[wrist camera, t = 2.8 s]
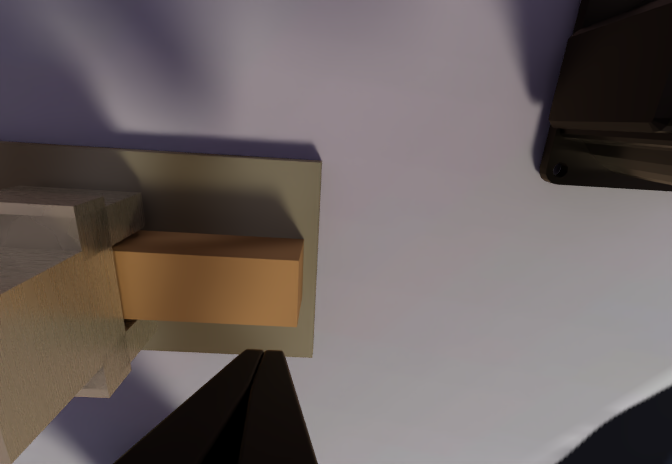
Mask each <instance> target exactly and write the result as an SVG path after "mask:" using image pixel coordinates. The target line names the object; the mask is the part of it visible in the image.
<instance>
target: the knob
mask: <svg viewBox="0 0 672 464" xmlns="http://www.w3.org/2000/svg"><path fill="white" fill-rule="evenodd" d="M143 227H145V218H144V210H143V202H142V194H141V192H124V191H107V190H90V189H73V188H55V187H38V186H21V185H20V186H15V187H11V188H6V189H1V190H0V464H12V463H13V462H14V461H15V460H16V459H17V458H18V457H19V455H20V454H21V453H22V452H23V451H24V450H25V449H26V448H27V447H28V446H29V445H30V444H31V443H32V442H33V440H34V439H35V438H36V437H37V436H38V435H39V434H40V433H41V432H42V431H43V430H44V429H45V428H46V426H47V425H48V424H49V423H50V422H51V421H52V420H53V419H54V418H55V417H56V416H57V415H58V414H59V412H60V411H61V410H62V409H63V408H64V407H65V406H66V405H67V404H68V403H69V402H70V401H71V400H72V399H73V397H96V398H110V397H111V395H112V394H113V393H114V392H115V390H116V389H117V388H118V387H119V385H120V384H121V383H122V382H123V380H124V379H125V378H126V377H127V375H128V374H129V373H130V372H131V364H130V363H131V362H132V360H133V359H134V358H135V357H136V356H137V354H138V353H139V352H140V351H141V349H142V348H143V347H144V346H145V345H146V343H147V342H148V341H149V340H150V339H151V337H152V336H153V335H154V334H155V333H156V331H157V330H158V325H157V320H137V319H123V313H122V307H121V301H120V294H119V288H118V281H117V275H116V269H115V262H114V256H113V250H112V245H114V244H116V243H117V242H119V241H121V240H123V239H124V238H126V237H128V236H130V235H131V234H133V233H135V232H137V231H138V230H140V229H142V228H143Z"/></svg>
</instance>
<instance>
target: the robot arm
mask: <svg viewBox="0 0 672 464" xmlns="http://www.w3.org/2000/svg"><path fill="white" fill-rule="evenodd" d="M549 122H550V128H549V132H548V136H547V140H546V144H545V148H544V152H543V156H542V161H541V165H540V172H539V173H540V176H541V178H542V179H543V180H544V181H547V182H550V183H553V184H558V185H575V186H591V187H608V188H625V189H641V190H658V191H672V0H581V3H580V7H579V11H578V15H577V19H576V23H575V27H574V32H573V35H572V36H571V37H570V38H569V39H568V42H567V46H566V50H565V54H564V58H563V62H562V66H561V70H560V74H559V78H558V82H557V86H556V91H555V95H554V99H553V103H552V107H551V111H550V115H549ZM558 163H560V165H561V169H560V171H559V173H557V174H556V175H554V174H553V169H554V167H555V166H556V165H557V164H558ZM113 464H318V463H317V459H316V456H315V453H314V450H313V446H312V443H311V440H310V437H309V433H308V430H307V427H306V423H305V420H304V417H303V414H302V410H301V407H300V404H299V400H298V397H297V394H296V391H295V387H294V384H293V381H292V377H291V374H290V371H289V368H288V364H287V361H286V358H285V354H284V352H283V351H282V350H266V351H265V352H264V350H262V349H246V350H244V351H243V352H242V353H241V354H239V355H238V356H237V357H236V358H235V359H234V360H232V361H231V362H230V363H229V364H228V365H227V366H225V367H224V368H223V369H222V370H221V371H220V372H219V373H217V374H216V375H215V376H214V377H213V378H212V379H210V380H209V381H208V382H207V383H206V384H205V385H203V386H202V387H201V388H200V389H199V390H198V391H197V392H195V393H194V394H193V395H192V396H191V397H190V398H188V399H187V400H186V401H185V402H184V403H183V404H181V405H180V406H179V407H178V408H177V409H176V410H175V411H173V412H172V413H171V414H170V415H169V416H168V417H166V418H165V419H164V420H163V421H162V422H161V423H159V424H158V425H157V426H156V427H155V428H154V429H153V430H151V431H150V432H149V433H148V434H147V435H146V436H144V437H143V438H142V439H141V440H140V441H139V442H137V443H136V444H135V445H134V446H133V447H132V448H131V449H129V450H128V451H127V452H126V453H125V454H124V455H122V456H121V457H120V458H119V459H118V460H117V461H115V462H114V463H113Z"/></svg>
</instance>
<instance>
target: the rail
mask: <svg viewBox="0 0 672 464" xmlns="http://www.w3.org/2000/svg"><path fill="white" fill-rule="evenodd" d="M321 169H322V161H318V160H301V159H285V158H268V157H252V156H236V155H219V154H203V153H186V152H170V151H154V150H137V149H121V148H104V147H88V146H72V145H55V144H39V143H22V142H6V141H0V190H1V189H6V188H11V187H15V186H20V185H21V186H38V187H55V188H73V189H90V190H107V191H124V192H141V194H142V202H143V210H144V218H145V227H143V228H142V229H140V230H138V231H137V232H135V233H133V234H131V235H130V236H128V237H126V238H124V239H123V240H121V241H119V242H117V243H116V244H114V245H112V250H113V256H114V262H115V269H116V275H117V281H118V288H119V294H120V301H121V307H122V313H123V319H137V320H157V325H158V330H157V331H156V333H155V334H154V335H153V336H152V337H151V339H150V340H149V341H148V342H147V343H146V345H145V346H144V347H143V348H142V349H141V350H156V351H178V352H199V353H221V354H241V353H242V352H243V351H244V350H246V349H262V350H264V352H265V351H266V350H282V351H283V352H284V354H285V356H287V357H308V358H312V354H313V338H314V317H315V296H316V275H317V254H318V233H319V211H320V190H321Z"/></svg>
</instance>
